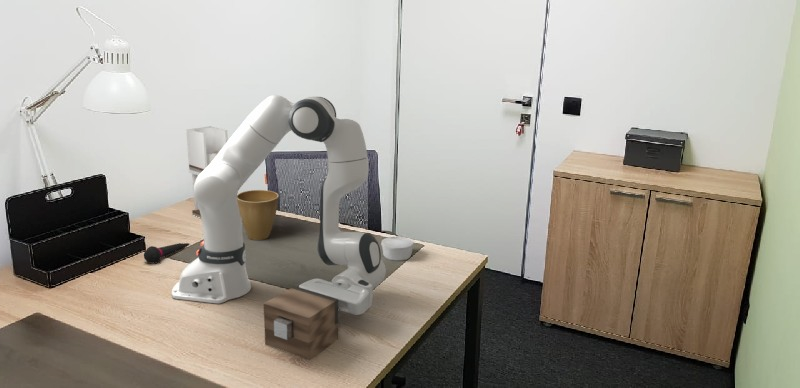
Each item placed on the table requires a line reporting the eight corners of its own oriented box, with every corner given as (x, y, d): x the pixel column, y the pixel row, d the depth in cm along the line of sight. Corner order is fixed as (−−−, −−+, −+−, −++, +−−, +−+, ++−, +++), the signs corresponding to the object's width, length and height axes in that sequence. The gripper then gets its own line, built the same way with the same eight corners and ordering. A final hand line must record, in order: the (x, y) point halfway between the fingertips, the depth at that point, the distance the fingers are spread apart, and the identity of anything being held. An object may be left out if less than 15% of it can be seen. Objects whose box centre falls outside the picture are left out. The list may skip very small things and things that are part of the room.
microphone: (184, 252, 220) (142, 266, 201) (180, 237, 219) (138, 249, 201) (196, 250, 218) (155, 264, 199) (192, 234, 217) (150, 246, 199)
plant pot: (233, 243, 221) (230, 200, 217) (245, 229, 235) (243, 188, 231) (274, 245, 221) (272, 202, 216) (283, 230, 235) (282, 190, 230)
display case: (192, 215, 249) (186, 129, 239) (215, 209, 257) (210, 126, 247) (208, 221, 242) (203, 133, 232) (231, 215, 250) (227, 130, 240)
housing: (309, 360, 149) (308, 318, 146) (265, 344, 156) (263, 303, 152) (338, 339, 159) (338, 299, 156) (295, 324, 166) (294, 286, 162)
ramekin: (412, 250, 220) (413, 236, 218) (414, 262, 209) (414, 248, 207) (381, 249, 219) (381, 235, 218) (381, 262, 208) (381, 247, 207)
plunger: (287, 339, 148) (286, 325, 147) (274, 335, 150) (273, 320, 149) (322, 316, 160) (322, 302, 159) (310, 312, 162) (309, 298, 161)
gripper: (316, 269, 176) (284, 287, 164) (377, 286, 166) (348, 306, 155) (316, 289, 178) (285, 308, 166) (377, 307, 168) (348, 328, 156)
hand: (316, 307), depth 160 cm, fingers closed, pressing on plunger
